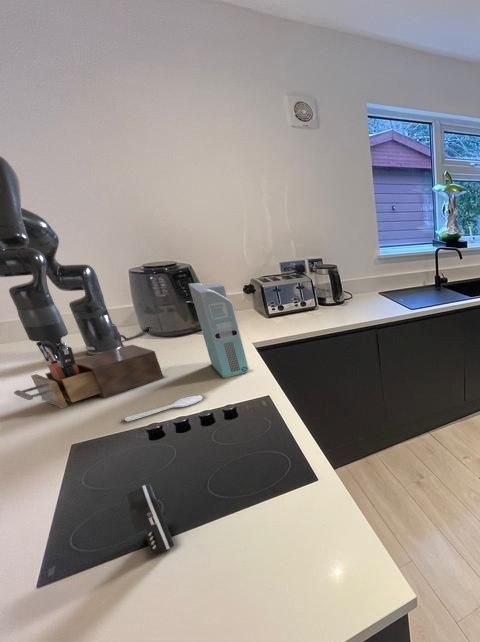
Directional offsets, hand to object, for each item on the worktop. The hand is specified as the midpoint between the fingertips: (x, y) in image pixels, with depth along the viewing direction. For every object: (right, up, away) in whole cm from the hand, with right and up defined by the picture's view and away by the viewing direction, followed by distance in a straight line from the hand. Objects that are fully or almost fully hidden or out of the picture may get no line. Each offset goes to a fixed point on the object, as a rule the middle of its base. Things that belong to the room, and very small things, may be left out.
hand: (67, 376), depth 118 cm
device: (+30, +1, +26) cm, 40 cm away
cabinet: (+4, -3, +13) cm, 14 cm away
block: (0, 0, 0) cm, 0 cm away
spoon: (+31, -10, -1) cm, 32 cm away
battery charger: (+67, -28, -45) cm, 85 cm away
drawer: (0, -6, +2) cm, 7 cm away
